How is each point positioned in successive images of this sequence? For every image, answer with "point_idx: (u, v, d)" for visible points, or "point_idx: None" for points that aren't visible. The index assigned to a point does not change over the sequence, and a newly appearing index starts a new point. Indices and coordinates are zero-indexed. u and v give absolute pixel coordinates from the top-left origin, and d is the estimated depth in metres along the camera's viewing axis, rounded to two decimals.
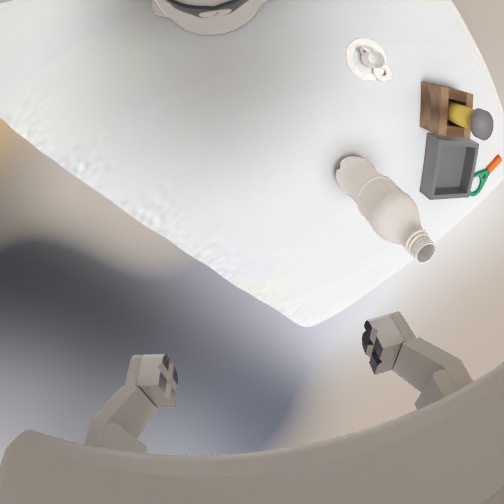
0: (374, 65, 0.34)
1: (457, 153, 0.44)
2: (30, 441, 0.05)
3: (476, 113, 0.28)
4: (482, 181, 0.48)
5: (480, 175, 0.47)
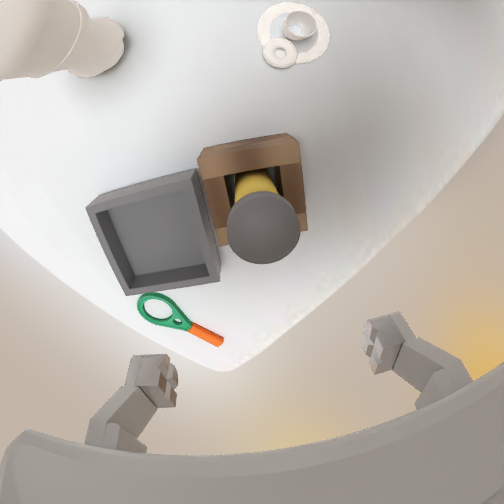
0: (287, 34, 0.21)
1: (185, 247, 0.34)
2: (30, 441, 0.05)
3: (282, 200, 0.19)
4: (168, 322, 0.41)
5: (175, 314, 0.40)
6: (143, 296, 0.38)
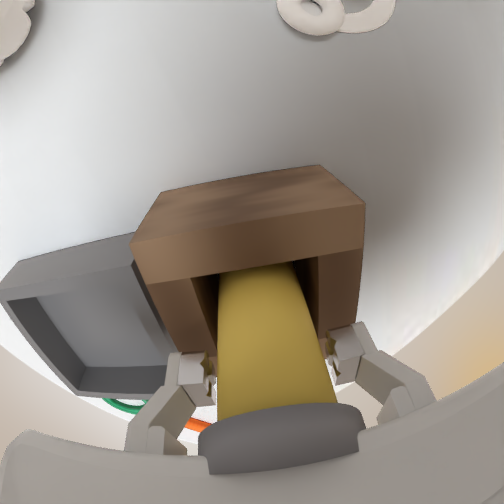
0: None
1: (146, 344, 0.20)
2: (30, 441, 0.05)
3: (347, 429, 0.06)
4: None
5: None
6: None
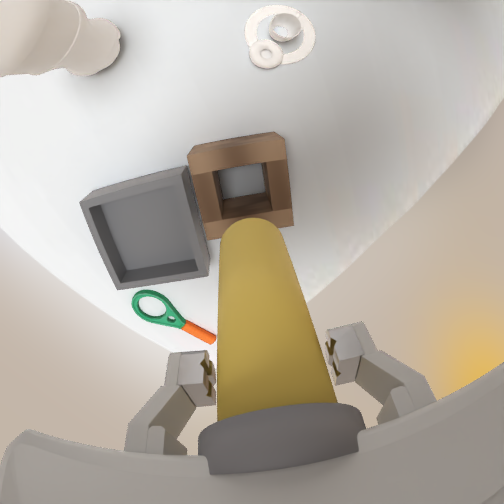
0: (273, 35, 0.22)
1: (175, 242, 0.35)
2: (30, 441, 0.05)
3: (347, 429, 0.06)
4: (162, 319, 0.42)
5: (169, 311, 0.41)
6: (138, 293, 0.39)
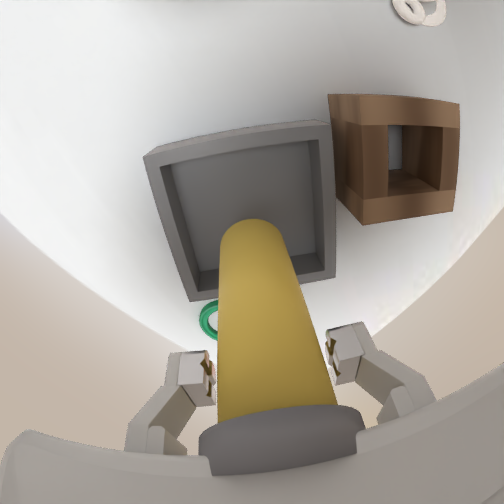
0: None
1: (285, 229, 0.24)
2: (30, 441, 0.05)
3: (347, 431, 0.06)
4: None
5: None
6: (212, 305, 0.29)
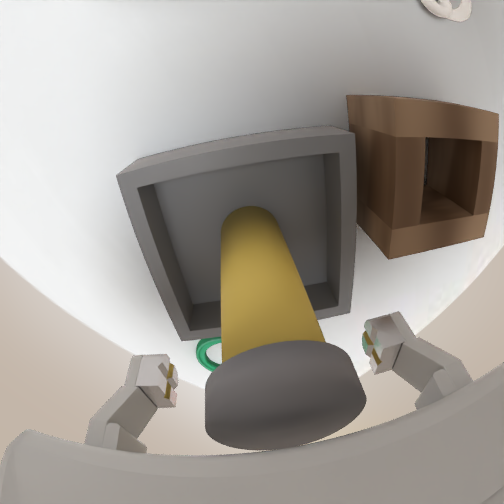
0: None
1: (293, 258, 0.20)
2: (30, 441, 0.05)
3: (338, 365, 0.07)
4: None
5: None
6: (210, 339, 0.25)
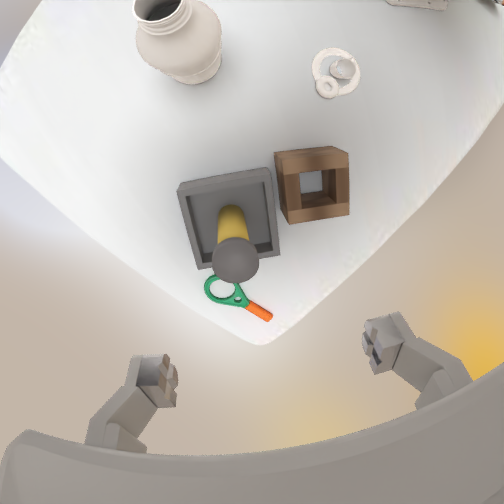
0: (334, 73, 0.32)
1: (251, 228, 0.44)
2: (30, 441, 0.05)
3: (247, 243, 0.30)
4: (230, 300, 0.51)
5: (237, 292, 0.50)
6: (212, 277, 0.48)
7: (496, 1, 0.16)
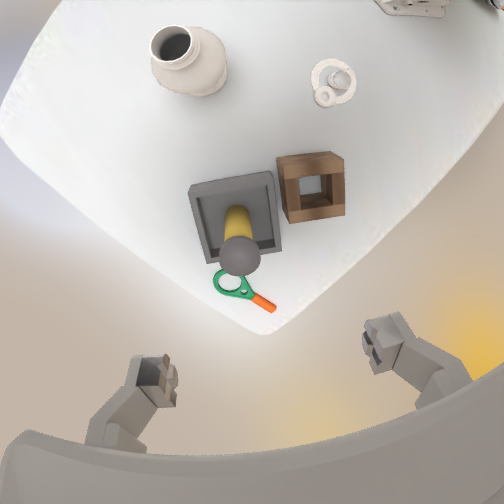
0: (331, 84, 0.35)
1: (255, 226, 0.48)
2: (30, 441, 0.05)
3: (250, 241, 0.35)
4: (237, 292, 0.55)
5: (243, 285, 0.55)
6: (221, 271, 0.53)
7: (496, 7, 0.18)
